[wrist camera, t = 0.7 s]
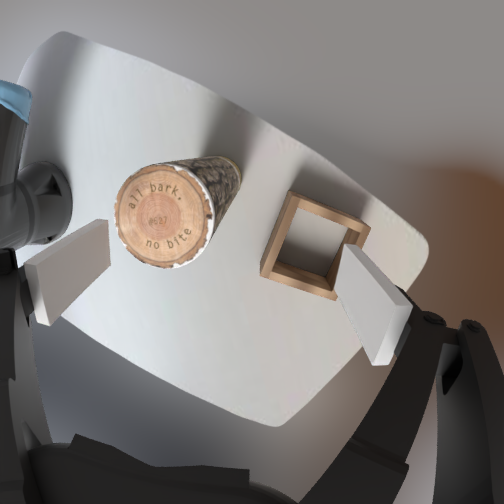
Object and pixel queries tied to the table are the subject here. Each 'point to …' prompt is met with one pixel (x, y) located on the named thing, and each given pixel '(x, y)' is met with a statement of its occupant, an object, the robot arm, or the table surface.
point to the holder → (298, 276)
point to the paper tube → (174, 208)
